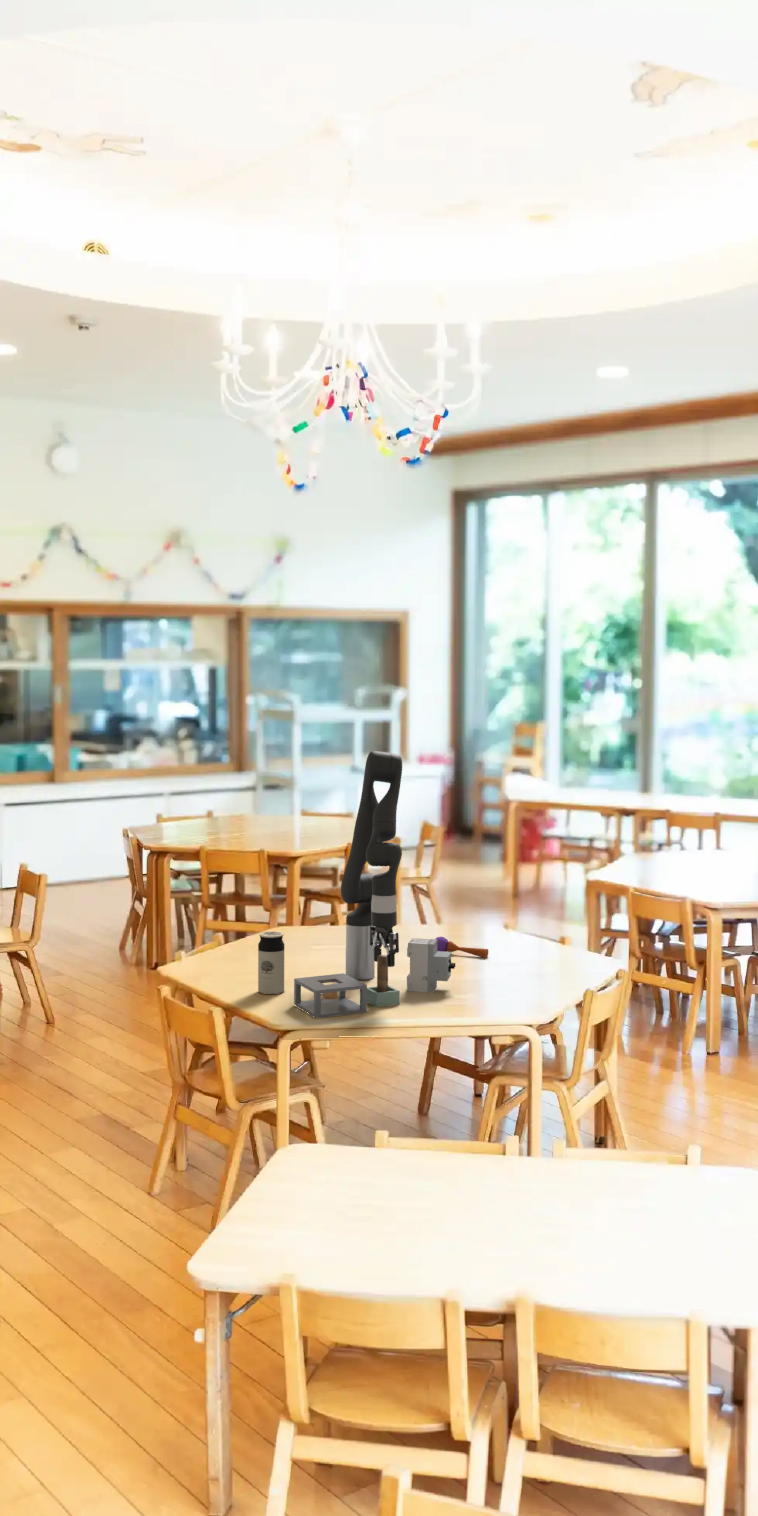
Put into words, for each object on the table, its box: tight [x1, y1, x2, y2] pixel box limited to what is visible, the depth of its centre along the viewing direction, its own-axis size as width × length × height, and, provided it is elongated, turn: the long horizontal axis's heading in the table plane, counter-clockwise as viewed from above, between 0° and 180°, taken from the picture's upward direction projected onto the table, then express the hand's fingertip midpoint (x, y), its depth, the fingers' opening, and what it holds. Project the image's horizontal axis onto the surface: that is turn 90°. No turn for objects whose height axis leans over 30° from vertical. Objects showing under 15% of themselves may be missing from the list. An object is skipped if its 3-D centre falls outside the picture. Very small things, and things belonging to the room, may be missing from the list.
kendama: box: [434, 936, 489, 959], centre depth 469 cm, size 6×6×20 cm
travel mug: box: [257, 930, 285, 995], centre depth 416 cm, size 8×8×18 cm
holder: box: [367, 984, 401, 1008], centre depth 404 cm, size 8×8×4 cm
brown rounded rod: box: [376, 954, 389, 993], centre depth 404 cm, size 3×3×14 cm
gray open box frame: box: [293, 972, 368, 1019], centre depth 396 cm, size 16×16×8 cm
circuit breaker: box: [406, 937, 456, 993], centre depth 420 cm, size 8×14×15 cm, turn 78°
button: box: [322, 992, 339, 1000], centre depth 396 cm, size 4×4×3 cm
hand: (384, 963), depth 403 cm, fingers open, 8 cm apart
